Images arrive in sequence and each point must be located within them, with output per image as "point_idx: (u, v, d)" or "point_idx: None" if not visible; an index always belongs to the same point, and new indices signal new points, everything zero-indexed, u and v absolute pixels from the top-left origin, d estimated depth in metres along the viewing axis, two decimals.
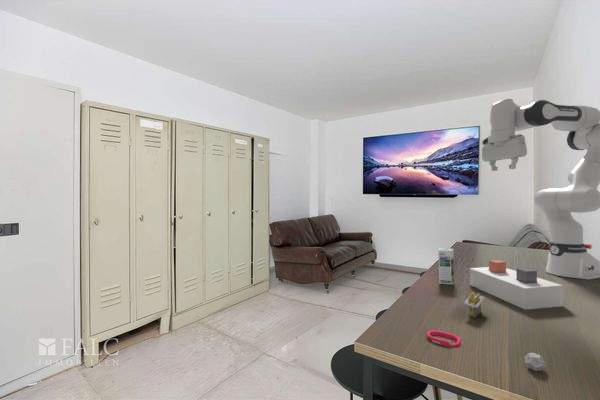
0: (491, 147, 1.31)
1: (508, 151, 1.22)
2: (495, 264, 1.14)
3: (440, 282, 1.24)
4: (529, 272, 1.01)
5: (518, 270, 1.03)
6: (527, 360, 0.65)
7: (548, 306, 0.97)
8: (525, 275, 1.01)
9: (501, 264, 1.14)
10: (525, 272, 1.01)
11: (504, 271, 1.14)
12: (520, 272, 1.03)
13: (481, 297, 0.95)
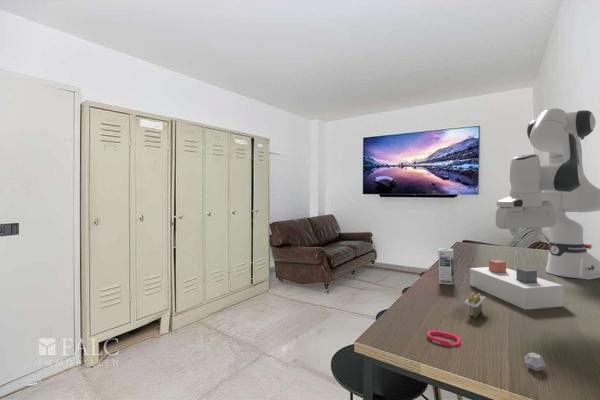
0: (519, 212, 1.00)
1: (543, 219, 1.01)
2: (495, 264, 1.14)
3: (440, 282, 1.24)
4: (529, 272, 1.01)
5: (518, 270, 1.03)
6: (527, 360, 0.65)
7: (548, 306, 0.97)
8: (525, 275, 1.01)
9: (501, 264, 1.14)
10: (525, 272, 1.01)
11: (504, 271, 1.14)
12: (520, 272, 1.03)
13: (482, 297, 0.95)
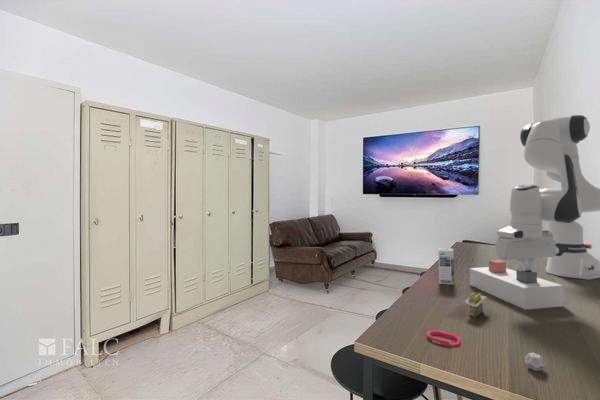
0: (519, 242, 1.00)
1: (543, 249, 1.01)
2: (495, 264, 1.14)
3: (440, 282, 1.24)
4: (529, 273, 1.01)
5: (518, 271, 1.04)
6: (527, 360, 0.65)
7: (548, 306, 0.97)
8: (525, 276, 1.01)
9: (501, 264, 1.14)
10: (525, 273, 1.01)
11: (504, 271, 1.14)
12: (520, 273, 1.03)
13: (483, 297, 0.95)
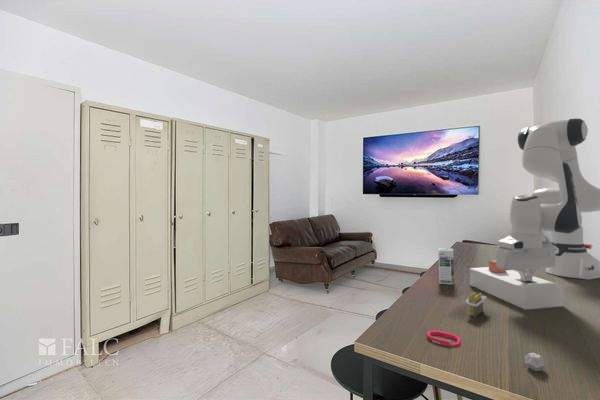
0: (519, 253, 1.00)
1: (543, 260, 1.01)
2: (495, 264, 1.14)
3: (440, 282, 1.24)
4: None
5: None
6: (527, 360, 0.65)
7: (548, 306, 0.97)
8: None
9: None
10: None
11: (504, 271, 1.14)
12: None
13: (483, 297, 0.95)
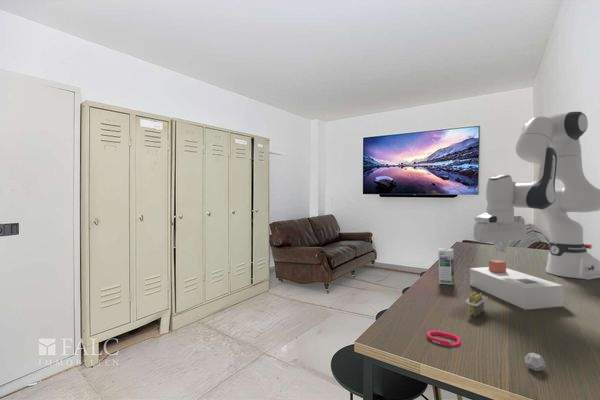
0: (494, 227, 1.11)
1: (515, 233, 1.13)
2: (495, 264, 1.14)
3: (440, 282, 1.24)
4: None
5: None
6: (527, 361, 0.65)
7: (548, 306, 0.97)
8: None
9: (501, 264, 1.14)
10: None
11: (504, 271, 1.14)
12: None
13: (484, 296, 0.96)
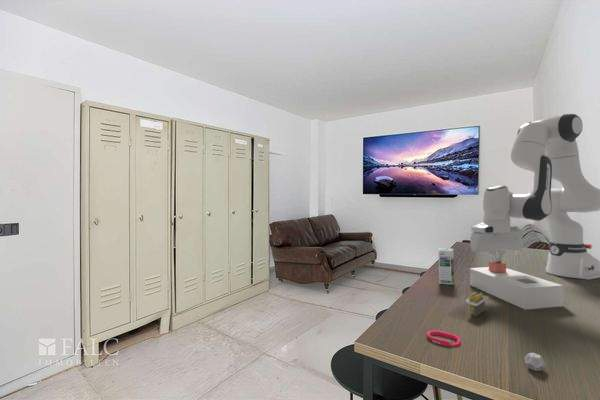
0: (490, 237, 1.13)
1: (511, 243, 1.14)
2: (495, 265, 1.14)
3: (440, 282, 1.24)
4: None
5: None
6: (527, 360, 0.65)
7: (548, 306, 0.97)
8: None
9: (501, 265, 1.14)
10: None
11: (504, 272, 1.14)
12: None
13: (484, 296, 0.96)
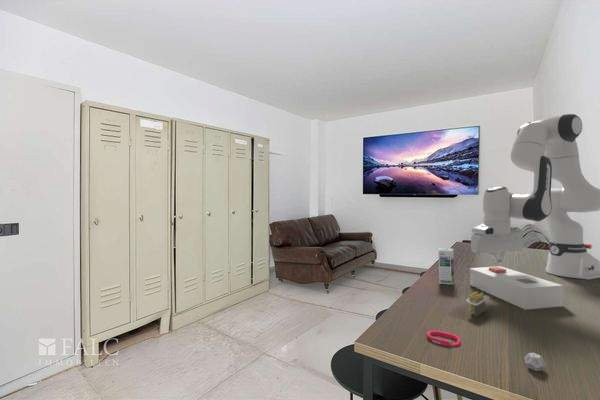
0: (490, 238, 1.13)
1: (512, 244, 1.14)
2: (495, 271, 1.14)
3: (440, 282, 1.24)
4: None
5: None
6: (527, 360, 0.65)
7: (548, 306, 0.97)
8: None
9: (501, 272, 1.14)
10: None
11: None
12: None
13: (485, 296, 0.96)
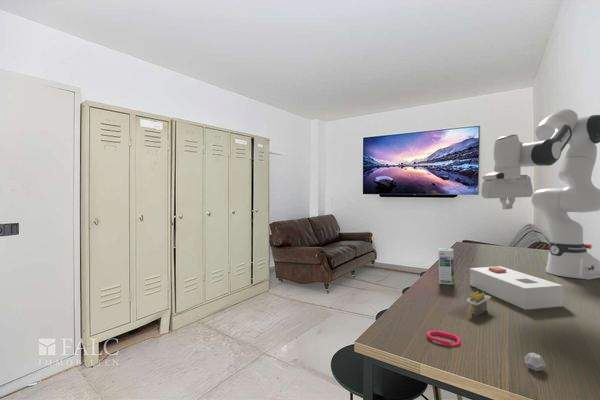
0: (501, 183, 1.17)
1: (522, 190, 1.18)
2: (495, 271, 1.14)
3: (440, 282, 1.24)
4: None
5: None
6: (527, 360, 0.65)
7: (548, 306, 0.97)
8: None
9: (501, 272, 1.14)
10: None
11: None
12: None
13: (487, 296, 0.96)
